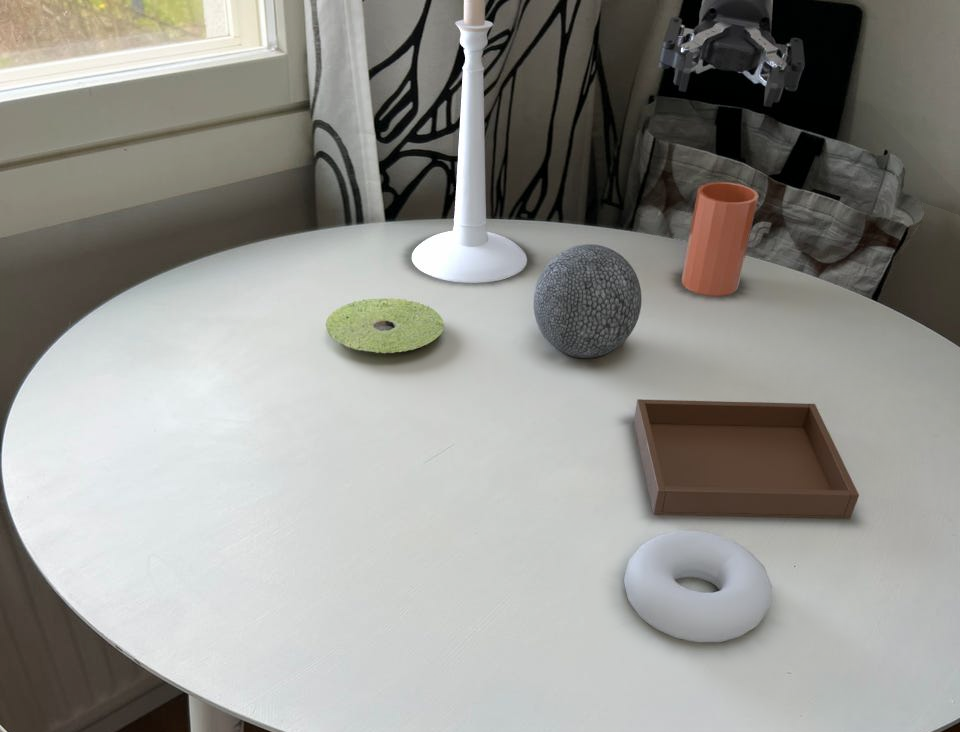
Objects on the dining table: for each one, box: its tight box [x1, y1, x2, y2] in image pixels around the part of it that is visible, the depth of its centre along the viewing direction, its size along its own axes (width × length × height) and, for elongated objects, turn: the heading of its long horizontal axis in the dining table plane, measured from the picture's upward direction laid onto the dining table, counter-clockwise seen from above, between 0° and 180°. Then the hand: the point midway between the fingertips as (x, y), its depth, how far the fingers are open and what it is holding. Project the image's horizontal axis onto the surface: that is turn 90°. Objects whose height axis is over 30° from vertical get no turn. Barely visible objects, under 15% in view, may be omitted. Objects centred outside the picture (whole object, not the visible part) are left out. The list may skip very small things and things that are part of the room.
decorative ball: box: [533, 243, 642, 359], centre depth 88 cm, size 10×10×10 cm
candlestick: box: [411, 0, 528, 284], centre depth 95 cm, size 13×13×30 cm
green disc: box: [325, 297, 444, 354], centre depth 91 cm, size 11×11×2 cm
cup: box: [681, 181, 759, 297], centre depth 99 cm, size 6×6×10 cm
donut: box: [623, 530, 773, 643], centre depth 65 cm, size 10×4×10 cm
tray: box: [633, 398, 860, 520], centre depth 77 cm, size 15×13×3 cm
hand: (727, 89), depth 93 cm, fingers open, 8 cm apart
